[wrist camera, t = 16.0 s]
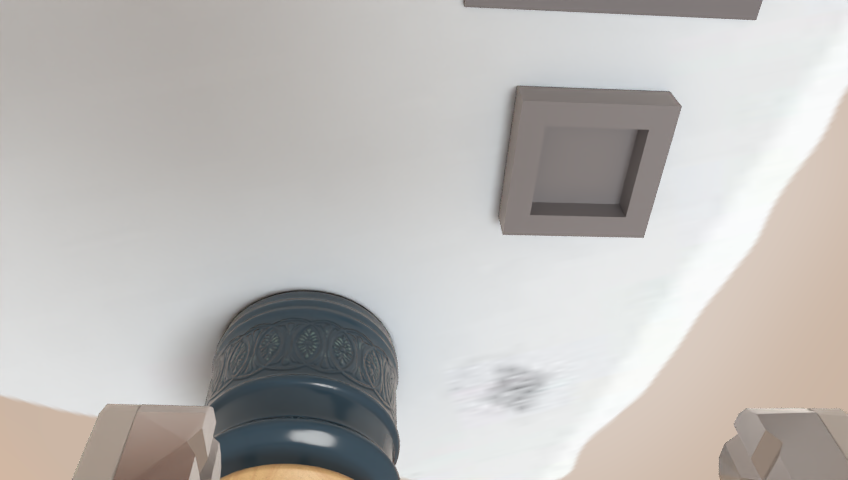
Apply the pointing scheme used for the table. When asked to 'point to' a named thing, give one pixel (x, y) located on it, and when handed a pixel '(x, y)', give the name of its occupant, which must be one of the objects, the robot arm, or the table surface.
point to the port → (636, 7)
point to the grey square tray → (585, 161)
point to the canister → (305, 392)
